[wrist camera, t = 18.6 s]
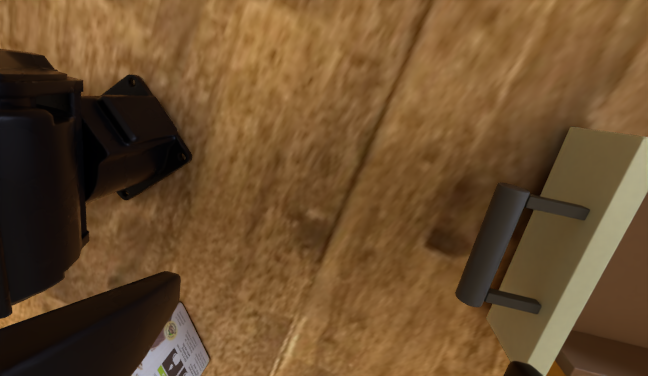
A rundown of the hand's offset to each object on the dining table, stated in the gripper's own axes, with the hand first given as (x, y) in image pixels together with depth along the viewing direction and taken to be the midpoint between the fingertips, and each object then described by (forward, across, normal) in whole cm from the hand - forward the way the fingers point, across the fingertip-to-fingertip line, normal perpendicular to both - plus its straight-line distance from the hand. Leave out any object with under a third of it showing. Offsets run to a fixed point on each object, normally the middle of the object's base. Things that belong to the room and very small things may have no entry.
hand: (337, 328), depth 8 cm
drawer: (+12, -15, 0) cm, 19 cm away
